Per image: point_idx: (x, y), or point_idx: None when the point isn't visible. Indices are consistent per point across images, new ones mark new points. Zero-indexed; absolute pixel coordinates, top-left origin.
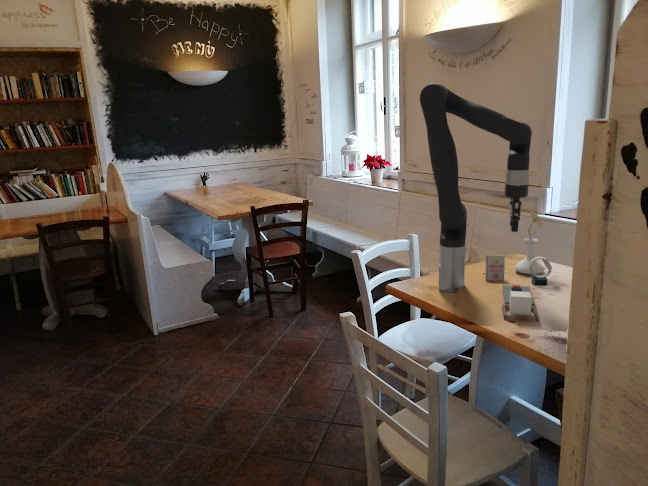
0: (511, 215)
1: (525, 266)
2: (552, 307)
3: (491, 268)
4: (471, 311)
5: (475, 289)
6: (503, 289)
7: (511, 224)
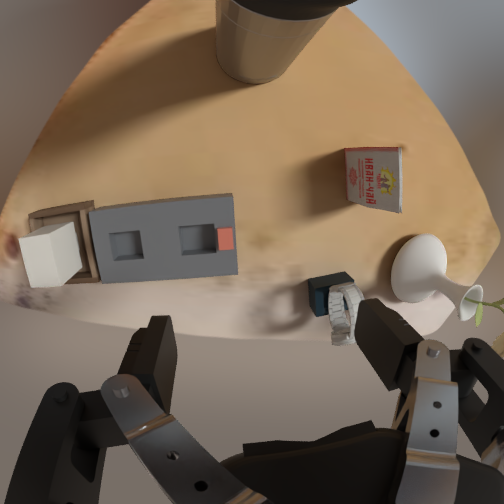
0: (165, 416)
1: (410, 264)
2: (165, 313)
3: (363, 164)
4: (84, 126)
5: (260, 115)
6: (189, 200)
7: (144, 349)
